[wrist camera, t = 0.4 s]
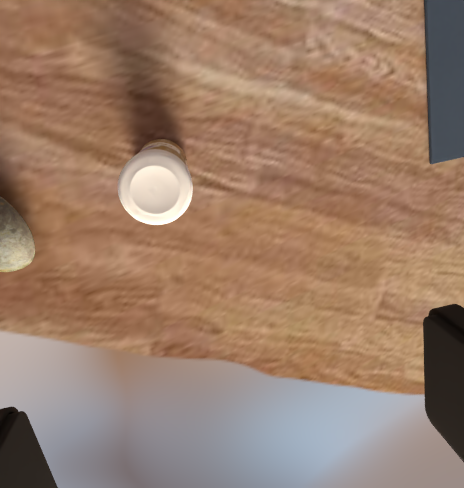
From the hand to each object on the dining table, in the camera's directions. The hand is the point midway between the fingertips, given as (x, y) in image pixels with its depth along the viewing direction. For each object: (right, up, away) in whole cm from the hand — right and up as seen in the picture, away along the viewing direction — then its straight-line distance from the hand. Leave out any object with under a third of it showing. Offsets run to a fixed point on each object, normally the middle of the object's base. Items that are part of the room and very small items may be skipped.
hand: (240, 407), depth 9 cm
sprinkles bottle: (-7, +11, +28) cm, 31 cm away
